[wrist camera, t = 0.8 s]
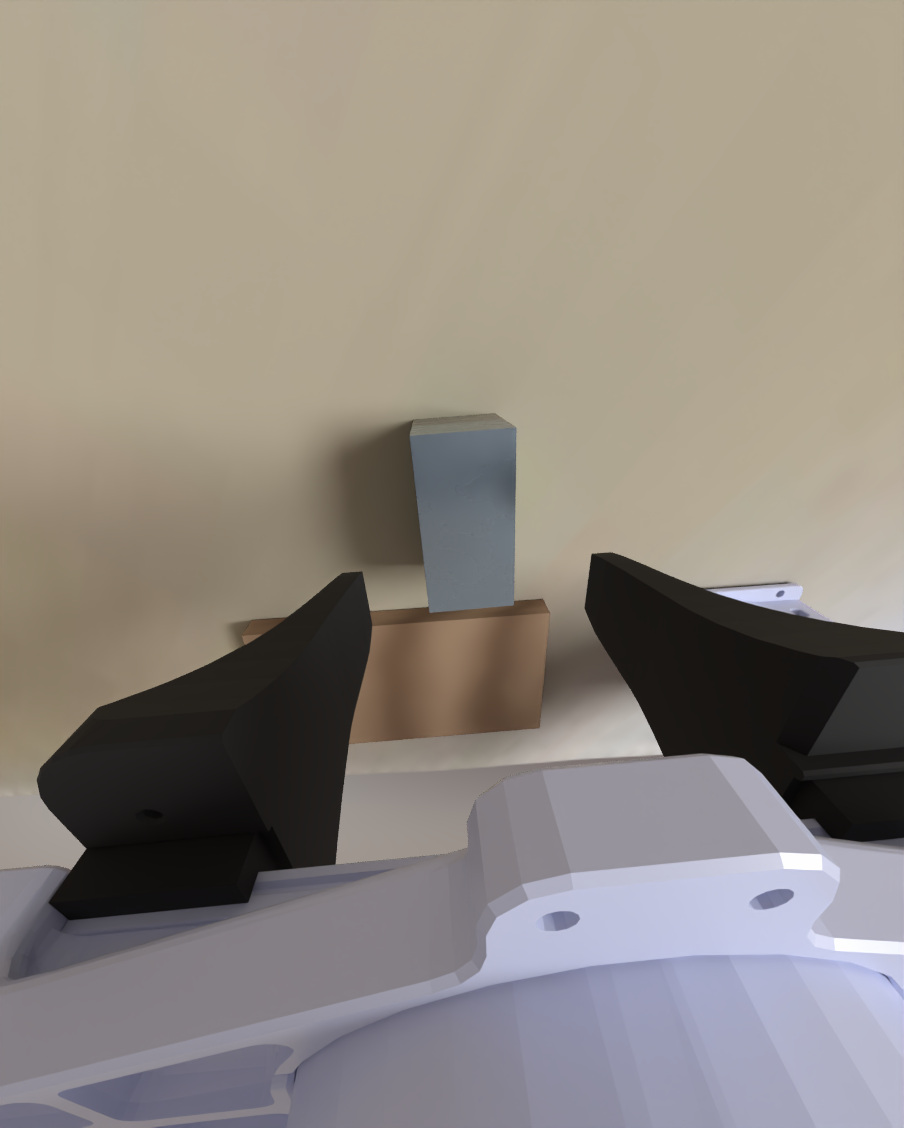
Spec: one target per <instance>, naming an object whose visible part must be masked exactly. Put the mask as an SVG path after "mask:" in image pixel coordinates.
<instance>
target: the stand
mask: <svg viewBox="0 0 904 1128" xmlns="http://www.w3.org/2000/svg"><path fill="white" fill-rule="evenodd" d="M370 615H371V620H372V636H371V645H370V653H369V657H368V661H367V665H366V669H365V673H364V677H363V681H362V685H361V689H360V693H359V697H358V701H357V705H356V709H355V713H354V717H353V722H352V727H351V733H350V740H349V744H354V743H366V742H378V741H390V740H402V739H414V738H426V737H438V736H450V735H462V734H474V733H486V732H498V731H510V730H522V729H534V728H540V717H541V706H542V695H543V683H544V672H545V661H546V650H547V639H548V628H549V617H550V612H549V610H548V608H547V606H546V604H545V602H544V600H543V599H539V600H525V601H514V605H513V606H501V607H490V608H479V609H468V610H456V611H445V612H434V613H430V612H429V608H415V609H401V610H387V611H374V612H370ZM285 619H286V618H277V619H264V620H252V621H251V622H250V624H249V625H248V627H247V628H246V630H245V631H244V633H243V634H242V635H241V637H242V639H243V642H244V644H245V645H246V644H248V643H249V642H251V641H253V640H254V639H256V638H258V637H259V636H261V635H262V634H264V633H266V632H267V631H269V630H270V629H272V628H273V627H275V626H276V625H278V624H279V623H281V622H282V621H283V620H285Z"/></svg>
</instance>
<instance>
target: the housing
mask: <svg viewBox="0 0 904 1128" xmlns="http://www.w3.org/2000/svg"><path fill="white" fill-rule="evenodd" d="M410 444H411V453H412V462H413V471H414V480H415V488H416V497H417V506H418V515H419V524H420V533H421V542H422V550H423V559H424V568H425V577H426V586H427V595H428V604H429V612H430V613H434V612H445V611H456V610H468V609H479V608H490V607H501V606H513V605H514V562H515V490H516V427H515V426H513V425H512V424H510V423H509V422H507V421H506V420H504V419H503V418H501V417H500V416H498V415H497V414H483V415H469V416H456V417H443V418H430V419H417V420H413V424H412V428H411V432H410Z"/></svg>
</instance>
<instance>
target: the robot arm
mask: <svg viewBox="0 0 904 1128" xmlns="http://www.w3.org/2000/svg"><path fill="white" fill-rule="evenodd" d="M802 592H803V587H801V586H800V585H798V584H796V583H790V584H776V585H762V586H749V587H735V588H721V589H707V590H705V589H703V588H700V587H697V586H695V585H692V584H689V583H686V582H684V581H681V580H679V579H676V578H674V577H672V576H669V575H667V574H664V573H662V572H660V571H657V570H655V569H653V568H650V567H648V566H646V565H643V564H641V563H639V562H636V561H634V560H631V559H629V558H626V557H624V556H621V555H618V554H615V553H611V552H610V553H597V554H592V555H591V563H590V571H589V578H588V586H587V594H586V601H585V610H586V613H587V615H588V618H589V620H590V622H591V625H592V627H593V629H594V631H595V633H596V635H597V637H598V638H599V640H600V642H601V643H602V645H603V647H604V648H605V650H606V651H607V653H608V655H609V656H610V658H611V659H612V661H613V662H614V664H615V666H616V667H617V669H618V670H619V672H620V673H621V675H622V677H623V678H624V680H625V681H626V683H627V684H628V686H629V688H630V689H631V691H632V693H633V694H634V696H635V698H636V700H637V701H638V703H639V705H640V707H641V709H642V711H643V713H644V715H645V717H646V719H647V721H648V723H649V725H650V727H651V729H652V731H653V734H654V736H655V738H656V740H657V742H658V745H659V747H660V749H661V751H662V753H663V756H664V757H658V758H647V759H636V760H625V761H615V762H603V763H593V764H581V765H570V766H560V767H550V768H539V769H535V770H531V771H527V772H523V773H519V774H516V775H512V776H508V777H505V778H503V779H502V780H501V781H499V782H498V783H496V784H495V785H493V786H492V787H491V788H489V789H488V790H486V791H485V792H484V793H483V794H481V795H480V796H479V797H478V798H477V799H476V800H475V803H474V805H473V808H472V811H471V813H470V816H469V818H468V821H467V831H468V848H465V849H462V850H458V851H454V852H451V853H448V854H440V855H430V856H420V857H410V858H399V859H389V860H378V861H368V862H358V863H347V864H337V865H335V863H336V852H337V840H338V831H339V821H340V812H341V802H342V793H343V785H344V777H345V769H346V761H347V754H348V747H349V740H350V733H351V727H352V722H353V717H354V713H355V709H356V705H357V701H358V697H359V693H360V689H361V685H362V681H363V677H364V673H365V669H366V665H367V661H368V657H369V653H370V645H371V636H372V620H371V615H370V610H369V604H368V599H367V594H366V589H365V583H364V578H363V573H362V572H350V573H342V574H341V575H339V576H338V577H337V578H335V579H334V580H333V581H332V582H330V583H329V584H328V585H327V586H326V587H325V588H323V589H322V590H321V591H320V592H319V593H318V594H316V595H315V596H314V597H313V598H312V599H310V600H309V601H308V602H307V603H306V604H304V605H303V606H302V607H300V608H299V609H298V610H296V611H295V612H294V613H293V614H291V615H290V616H289V617H287V618H286V619H285V620H283V621H282V622H281V623H279V624H278V625H276V626H275V627H273V628H272V629H270V630H269V631H267V632H266V633H264V634H262V635H261V636H259V637H258V638H256V639H254V640H253V641H251V642H249V643H248V644H246V645H244V646H242V647H240V648H239V649H237V650H235V651H233V652H231V653H229V654H227V655H225V656H223V657H221V658H220V659H218V660H216V661H214V662H212V663H210V664H208V665H206V666H203V667H201V668H199V669H197V670H195V671H193V672H190V673H188V674H186V675H183V676H181V677H179V678H176V679H174V680H172V681H169V682H167V683H164V684H162V685H159V686H157V687H154V688H152V689H149V690H146V691H143V692H141V693H138V694H135V695H132V696H130V697H127V698H124V699H121V700H119V701H116V702H113V703H110V704H107V705H104V706H101V707H99V708H97V709H96V710H95V711H94V712H93V713H92V714H91V715H90V717H89V718H88V719H87V720H86V721H85V722H84V723H83V724H82V725H81V726H80V727H79V728H78V729H77V730H76V731H75V732H74V733H73V734H72V735H71V736H70V738H69V739H68V740H67V741H66V742H65V743H64V744H63V745H62V746H61V747H60V748H59V749H58V750H57V751H56V752H55V753H54V754H53V755H52V756H51V757H50V759H49V760H48V761H47V762H46V763H45V764H44V765H43V766H42V767H41V768H40V772H39V775H38V778H37V783H38V788H39V793H40V797H41V799H42V800H43V802H44V803H45V804H46V806H47V807H48V809H49V810H50V811H51V812H52V813H53V814H54V815H55V816H56V817H57V818H58V819H59V820H60V822H61V823H62V824H63V825H64V826H65V827H66V828H67V829H68V830H69V831H70V832H71V833H72V834H73V835H74V836H75V837H76V838H77V839H78V840H79V841H80V842H81V843H82V844H83V845H84V847H86V848H87V849H86V850H85V852H84V853H83V855H82V856H81V857H80V859H79V860H78V862H77V863H76V865H75V866H74V867H73V869H72V870H69V869H67V868H64V867H60V866H51V865H44V866H33V867H23V868H13V869H3V870H0V1128H904V632H896V631H889V630H881V629H873V628H865V627H859V626H853V625H847V624H841V623H835V622H833V621H832V620H830V619H829V618H827V617H825V616H824V615H822V614H821V613H819V612H817V611H816V610H814V609H813V608H811V607H809V606H808V605H806V604H805V603H803V602H801V601H800V600H799V599H800V597H801V595H802Z"/></svg>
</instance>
